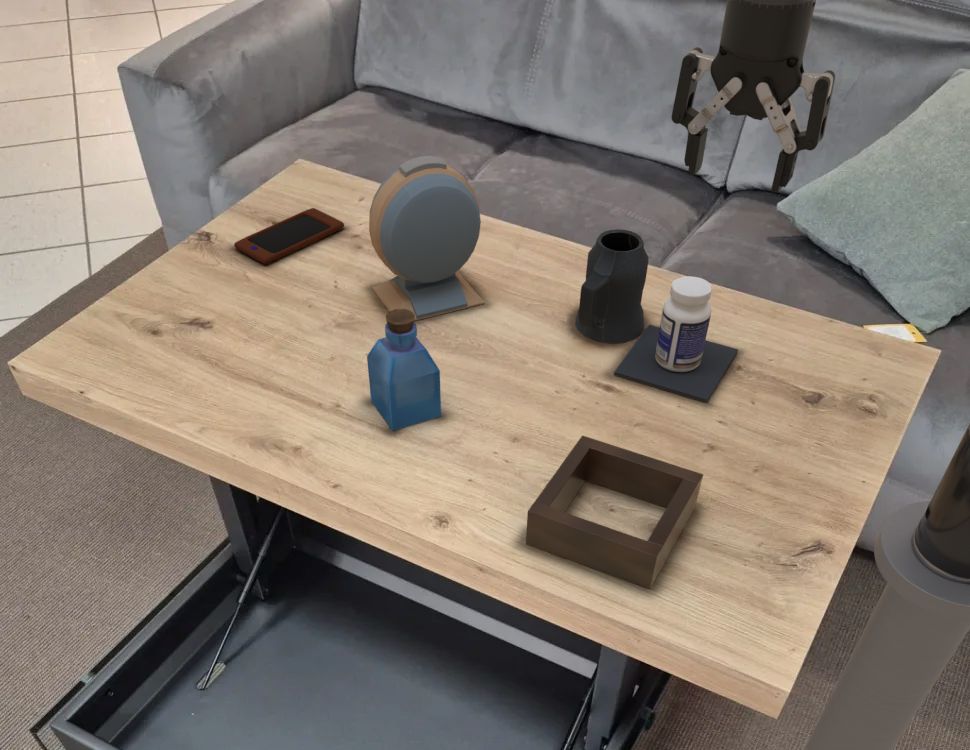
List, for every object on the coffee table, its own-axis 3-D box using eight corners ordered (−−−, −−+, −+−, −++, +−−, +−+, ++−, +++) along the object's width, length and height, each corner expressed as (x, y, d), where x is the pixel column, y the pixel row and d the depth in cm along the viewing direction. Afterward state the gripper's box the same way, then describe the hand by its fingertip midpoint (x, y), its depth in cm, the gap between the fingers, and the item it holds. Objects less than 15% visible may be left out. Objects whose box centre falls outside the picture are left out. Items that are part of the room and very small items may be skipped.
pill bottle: (706, 354, 117) (722, 280, 110) (692, 378, 114) (709, 303, 106) (662, 343, 119) (675, 268, 111) (647, 366, 115) (660, 291, 108)
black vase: (596, 297, 126) (606, 215, 118) (656, 319, 123) (671, 236, 115) (550, 338, 120) (556, 254, 111) (612, 362, 117) (623, 277, 108)
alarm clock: (461, 268, 131) (460, 134, 117) (491, 302, 125) (494, 165, 112) (365, 290, 127) (352, 153, 113) (392, 326, 121) (382, 187, 108)
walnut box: (695, 506, 100) (703, 474, 96) (650, 589, 92) (657, 556, 89) (578, 468, 104) (582, 435, 100) (525, 543, 96) (527, 511, 93)
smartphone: (232, 242, 132) (312, 205, 140) (233, 248, 133) (313, 212, 140) (264, 259, 129) (345, 221, 137) (265, 266, 130) (345, 228, 137)
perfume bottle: (392, 431, 107) (385, 338, 98) (371, 402, 111) (362, 309, 102) (441, 416, 109) (438, 323, 100) (418, 388, 113) (414, 296, 104)
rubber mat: (737, 352, 119) (738, 349, 118) (707, 403, 112) (707, 399, 111) (648, 327, 122) (649, 324, 122) (613, 375, 115) (614, 371, 115)
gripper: (680, -13, 81) (654, 180, 93) (845, 12, 77) (795, 210, 89) (709, -36, 85) (680, 152, 98) (867, -13, 81) (816, 180, 93)
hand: (735, 179), depth 93 cm, fingers open, 8 cm apart
